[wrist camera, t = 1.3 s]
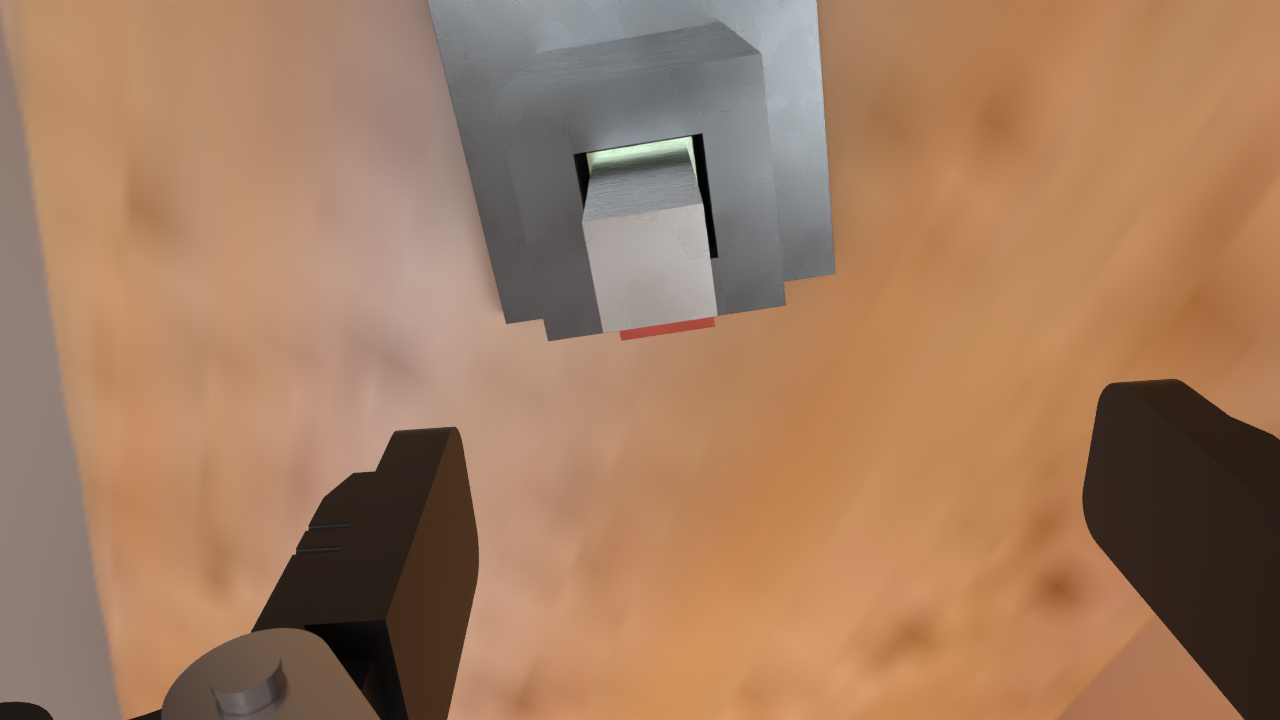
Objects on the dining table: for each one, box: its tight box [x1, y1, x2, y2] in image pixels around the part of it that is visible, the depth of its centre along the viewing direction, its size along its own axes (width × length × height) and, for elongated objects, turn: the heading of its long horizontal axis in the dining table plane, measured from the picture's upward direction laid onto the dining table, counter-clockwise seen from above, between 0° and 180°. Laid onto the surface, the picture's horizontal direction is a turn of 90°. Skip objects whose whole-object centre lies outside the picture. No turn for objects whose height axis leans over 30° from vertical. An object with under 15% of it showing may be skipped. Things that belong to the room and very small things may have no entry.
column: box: [582, 135, 718, 333], centre depth 30 cm, size 3×3×18 cm
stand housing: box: [428, 0, 835, 341], centre depth 34 cm, size 16×16×14 cm
